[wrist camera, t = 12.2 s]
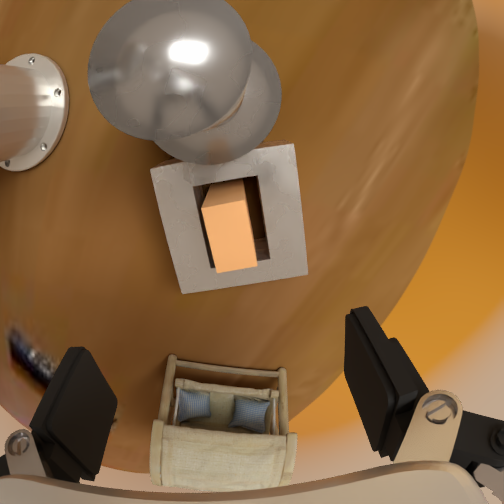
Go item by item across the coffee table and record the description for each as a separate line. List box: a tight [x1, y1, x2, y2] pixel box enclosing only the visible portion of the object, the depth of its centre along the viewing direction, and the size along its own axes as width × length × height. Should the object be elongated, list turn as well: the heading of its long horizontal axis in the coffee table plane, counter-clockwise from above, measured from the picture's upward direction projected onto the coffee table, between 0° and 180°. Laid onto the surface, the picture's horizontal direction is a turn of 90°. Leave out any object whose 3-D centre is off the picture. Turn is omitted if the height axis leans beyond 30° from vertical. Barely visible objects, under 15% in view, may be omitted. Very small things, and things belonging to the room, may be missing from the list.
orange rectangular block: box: [201, 179, 257, 273], centre depth 26 cm, size 3×5×8 cm, turn 10°
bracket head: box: [88, 0, 308, 294], centre depth 19 cm, size 11×20×20 cm, turn 9°
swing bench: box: [150, 354, 297, 492], centre depth 32 cm, size 15×10×15 cm, turn 81°
